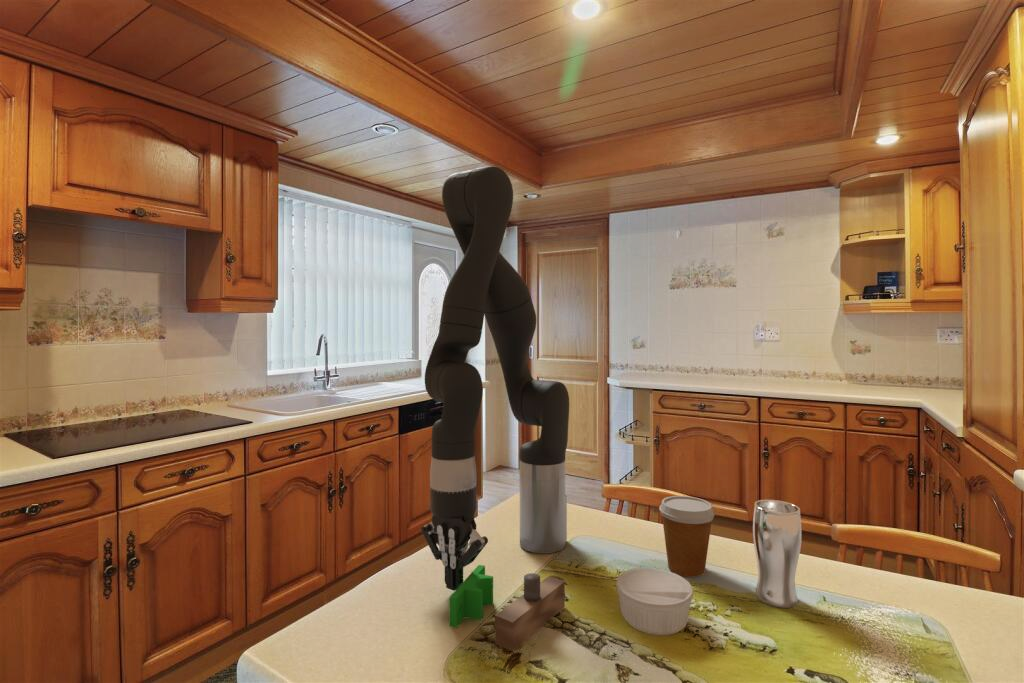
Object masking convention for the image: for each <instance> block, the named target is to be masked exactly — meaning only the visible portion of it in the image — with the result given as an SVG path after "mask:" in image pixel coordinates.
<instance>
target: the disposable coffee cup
mask: <svg viewBox="0 0 1024 683" xmlns="http://www.w3.org/2000/svg"><path fill="white" fill-rule="evenodd" d="M658 509H659V511H660V514H661V518H662V526H663V534H664V541H665V542H664V543H665V550H666V557H667V567H668V569H669V571H670V572H672V573H675V574H677V575H679V576H681V577H687V578H688V577H689V578H690V577H691V578H695V577H701V576H703V575H704V574H705V572H706V571H705V570H706V564H707V558H708V552H709V551H708V549H709V542H710V535H711V529H712V521H713V520H714V517H715V514H716V513H715V511H714V510H713V505H712V504H711V503H710V502H709V501H707V500H705V499H703V498H698V497H695V496H689V495H673V496H667V497H664V498H663V499H662V500H661V504H660V505H659V507H658Z"/></svg>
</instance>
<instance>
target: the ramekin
mask: <svg viewBox="0 0 1024 683" xmlns="http://www.w3.org/2000/svg"><path fill="white" fill-rule="evenodd" d="M615 586H616V590H617V593H618V600H619V606H620V612H621V614H622V617H623V618H624V619H625V621H626V622H627V623H628V624H629V626H631V627H632V628H633V629H635V630H638V631H640V632H642V633H644V634H649V635H655V636H669V635H670V636H671V635H674V634H677V633H678V632H680V631H681V630H682V629H684V628H685V627H686V625H687V624H688V620H689V616H690V609H691V603H692V601H693V597H694V590H693V586H692V585H691V583H689V581H688V580H686V579H685V578H684V577H683V576H682V575H678V574H676V573H674V572H672V571H670V570H665V569H661V568H655V567H635V568H630V569H628V570H625V571H624V572H621V573H620V574H619V576H618V577H617V578H616V584H615Z"/></svg>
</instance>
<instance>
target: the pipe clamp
mask: <svg viewBox="0 0 1024 683" xmlns="http://www.w3.org/2000/svg"><path fill="white" fill-rule="evenodd" d="M493 605H494V576H493V575H488V574H486V565H482V564H478V565H477V566H476V567H475V569H473V570H472V571H471V573H470V574H469V575H468V576H467V577H466V578H465V579H464V580H463V583H462V584H461V585H460V586H459V587H458V589H457V590H455V591H453V593H452V594H451V595H450V596H449V627H450V628H455V629H457V628H458V627H459V626H460V624H461V623H462V622H463V620H464V619H465V618H467V619H472V620H477V621H481V620H482V619H483V616H484V614H483V612H484V611H483V610H484V608H483V606H493Z"/></svg>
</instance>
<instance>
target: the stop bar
mask: <svg viewBox="0 0 1024 683" xmlns="http://www.w3.org/2000/svg"><path fill="white" fill-rule="evenodd" d="M565 586H566V582H565V581H564V580H561V579H558V578H555V577H552V576H547V577H545V578H544V579H543V580H541V575H539V574H537V573H526V574H525V575H523V594H522V595H521V596H519V597H518V598H517V599H516V600H514V601H513V602H511V603H510V604H508V605H506V606H505V607H504V608H503V609H502V610H500V611H499V612H498V613H496V614H495V615H494V644H495V645H497V646H498V647H501V648H503V649H506V650H508V651H511V652H514V651H515V650H516V649H518V648H519V647H520V646H521V645H522V644H523V643H525V642H526V641H527V640H528V639H529V638H530V637H532V636H533V635H534V634H535V633H536V632H537V631H538V630H539V629H541V628H542V627H544V625H545V624H547V623H548V622H549V621H551V619H553V618H554V616H556V615H557V614H558V613H559V612H561V611H562V610H563V609H564V608H565V607H566V606H565V605H566V602H565V601H566V599H565V598H566V597H565V596H566V594H565V593H566V587H565Z"/></svg>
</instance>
